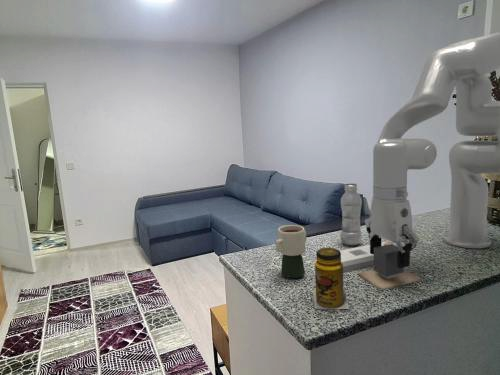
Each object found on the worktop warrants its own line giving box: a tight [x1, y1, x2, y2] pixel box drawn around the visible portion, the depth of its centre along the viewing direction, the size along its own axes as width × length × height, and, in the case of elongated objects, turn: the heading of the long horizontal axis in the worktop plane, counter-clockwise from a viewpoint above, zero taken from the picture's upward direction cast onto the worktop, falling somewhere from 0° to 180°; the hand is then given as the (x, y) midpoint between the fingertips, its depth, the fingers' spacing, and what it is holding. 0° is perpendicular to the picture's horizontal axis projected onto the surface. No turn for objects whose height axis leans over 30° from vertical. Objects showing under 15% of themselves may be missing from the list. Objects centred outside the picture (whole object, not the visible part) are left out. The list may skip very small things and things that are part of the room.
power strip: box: [339, 241, 390, 273], centre depth 94 cm, size 20×7×4 cm, turn 109°
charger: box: [373, 243, 405, 279], centre depth 83 cm, size 6×4×7 cm
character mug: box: [275, 224, 307, 279], centre depth 87 cm, size 11×7×13 cm, turn 128°
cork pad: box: [357, 269, 422, 291], centre depth 83 cm, size 12×9×1 cm
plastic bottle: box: [340, 183, 363, 246], centre depth 106 cm, size 6×7×20 cm
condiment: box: [312, 247, 350, 310], centre depth 74 cm, size 7×8×12 cm
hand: (388, 259), depth 83 cm, fingers open, 9 cm apart
